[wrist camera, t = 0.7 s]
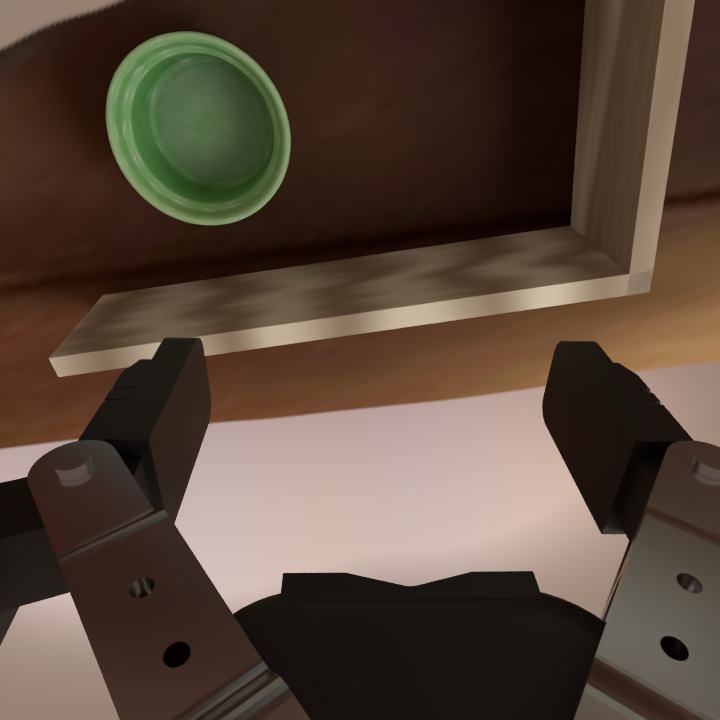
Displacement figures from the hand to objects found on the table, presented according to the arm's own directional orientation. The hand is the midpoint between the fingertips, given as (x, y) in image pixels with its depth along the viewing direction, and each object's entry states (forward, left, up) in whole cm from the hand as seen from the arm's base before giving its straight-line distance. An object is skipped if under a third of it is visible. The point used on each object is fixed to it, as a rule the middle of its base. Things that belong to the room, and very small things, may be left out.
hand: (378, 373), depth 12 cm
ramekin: (+7, -3, -23) cm, 24 cm away
